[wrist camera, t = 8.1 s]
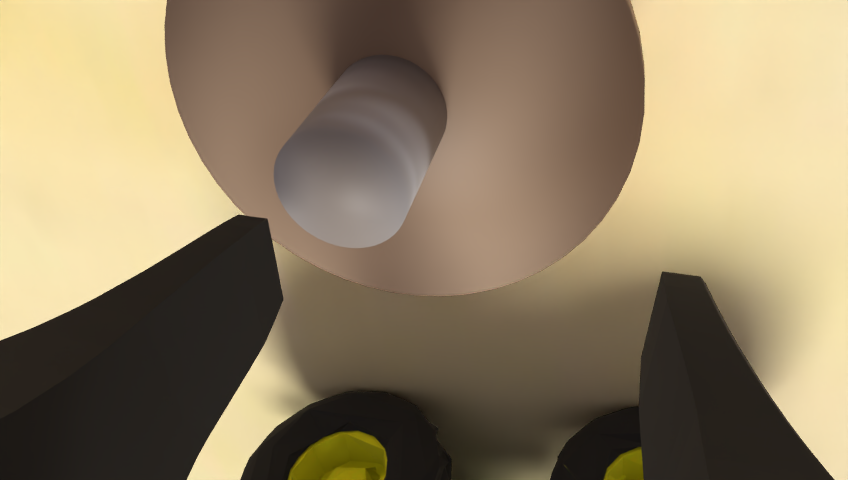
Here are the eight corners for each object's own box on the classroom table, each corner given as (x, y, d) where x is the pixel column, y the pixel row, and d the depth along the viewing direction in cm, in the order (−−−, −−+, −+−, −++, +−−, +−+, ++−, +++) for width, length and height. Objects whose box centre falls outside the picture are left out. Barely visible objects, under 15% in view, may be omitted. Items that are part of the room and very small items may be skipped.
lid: (669, -208, 12) (682, -180, 9) (627, 292, 19) (626, 418, 15) (112, -148, 15) (-40, -109, 12) (248, 265, 22) (177, 366, 18)
